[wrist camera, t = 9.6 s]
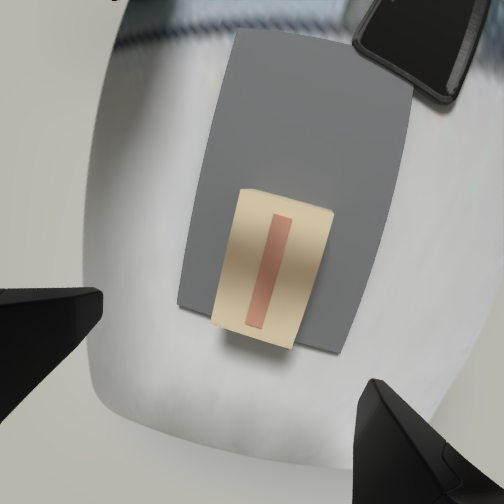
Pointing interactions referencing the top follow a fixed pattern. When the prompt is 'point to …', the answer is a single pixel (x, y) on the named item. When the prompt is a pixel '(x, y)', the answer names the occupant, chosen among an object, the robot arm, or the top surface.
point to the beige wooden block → (270, 266)
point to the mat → (301, 164)
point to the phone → (424, 41)
